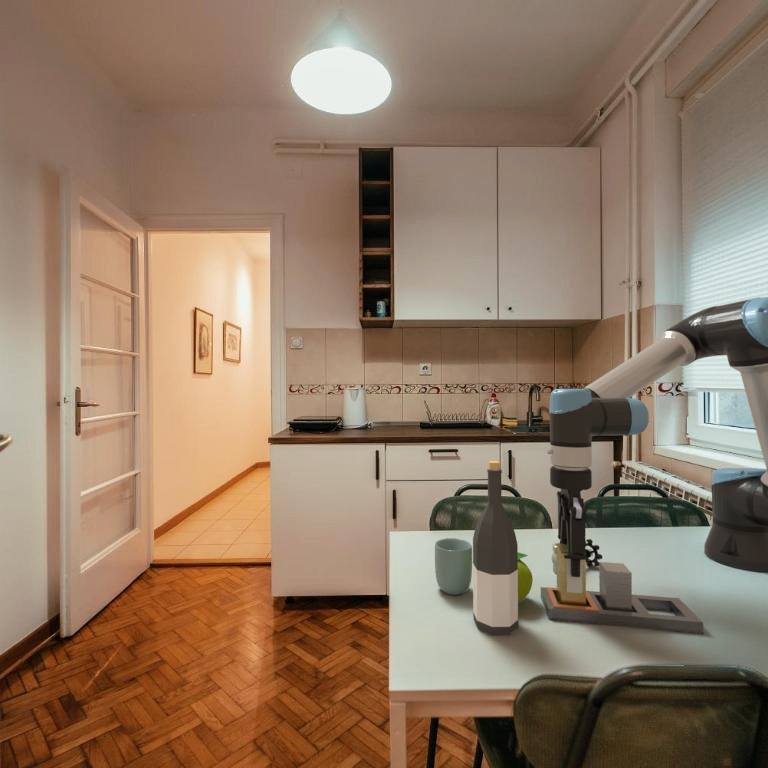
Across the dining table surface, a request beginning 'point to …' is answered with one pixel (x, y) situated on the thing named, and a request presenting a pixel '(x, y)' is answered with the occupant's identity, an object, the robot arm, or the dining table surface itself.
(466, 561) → the cup
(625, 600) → the grey rectangular block
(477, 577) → the wine bottle
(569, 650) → the dining table surface
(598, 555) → the valve
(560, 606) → the grey compartment tray
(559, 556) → the brass block
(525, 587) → the fruit
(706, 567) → the dining table surface
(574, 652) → the dining table surface
